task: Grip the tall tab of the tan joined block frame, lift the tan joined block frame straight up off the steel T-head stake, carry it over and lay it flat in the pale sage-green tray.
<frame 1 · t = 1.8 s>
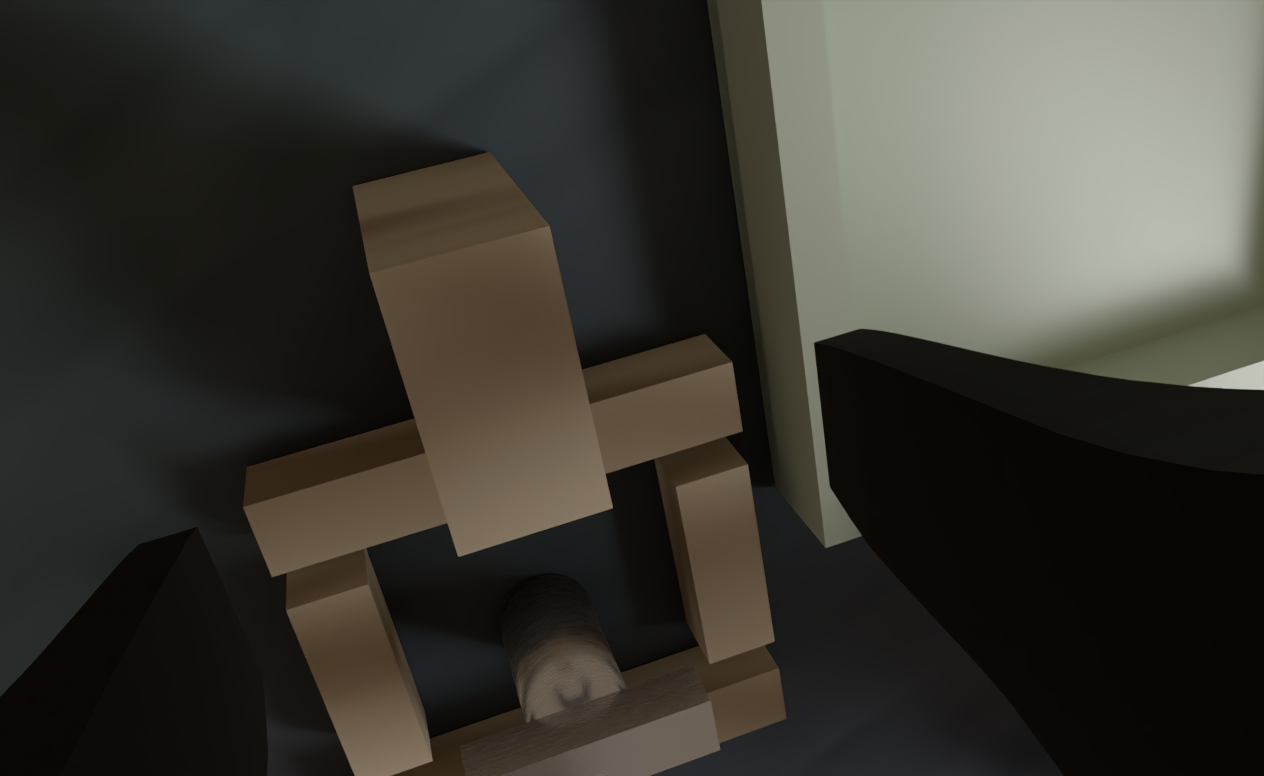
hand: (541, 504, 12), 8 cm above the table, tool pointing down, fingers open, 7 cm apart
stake: (544, 614, 22), on the table
tan joined block frame: (536, 584, 22), on the table
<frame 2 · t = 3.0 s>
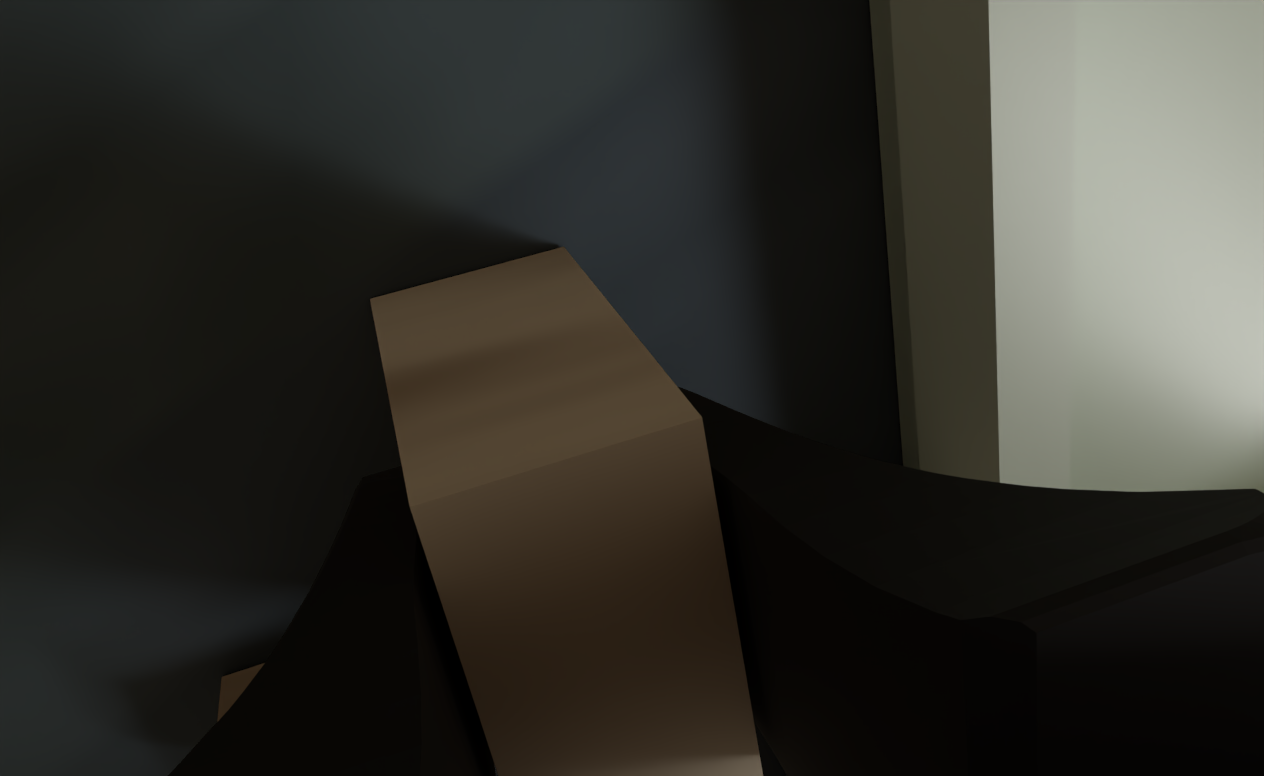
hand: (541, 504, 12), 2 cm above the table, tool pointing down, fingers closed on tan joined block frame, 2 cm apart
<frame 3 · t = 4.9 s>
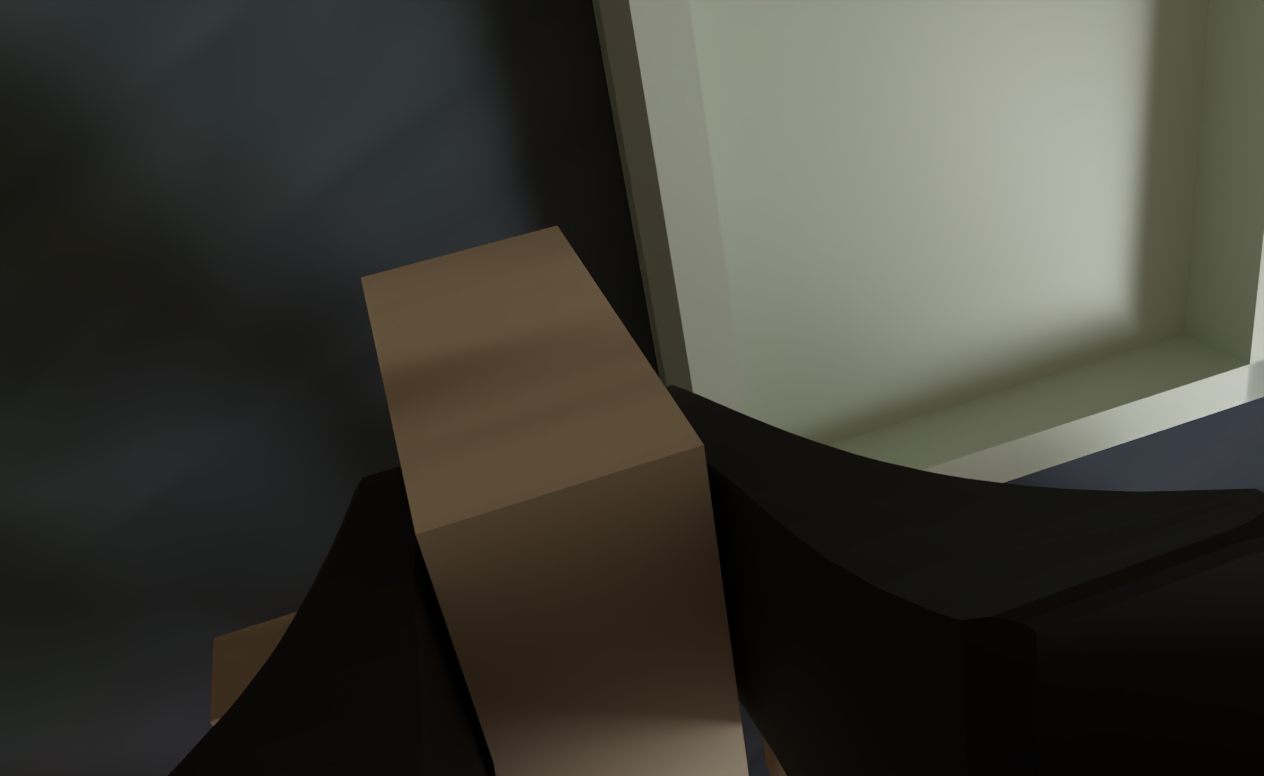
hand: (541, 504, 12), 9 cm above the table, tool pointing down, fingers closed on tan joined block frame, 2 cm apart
tray: (940, 23, 21), on the table
tan joined block frame: (588, 740, 17), point 7 cm above the table, tilted 6°, touching gripper
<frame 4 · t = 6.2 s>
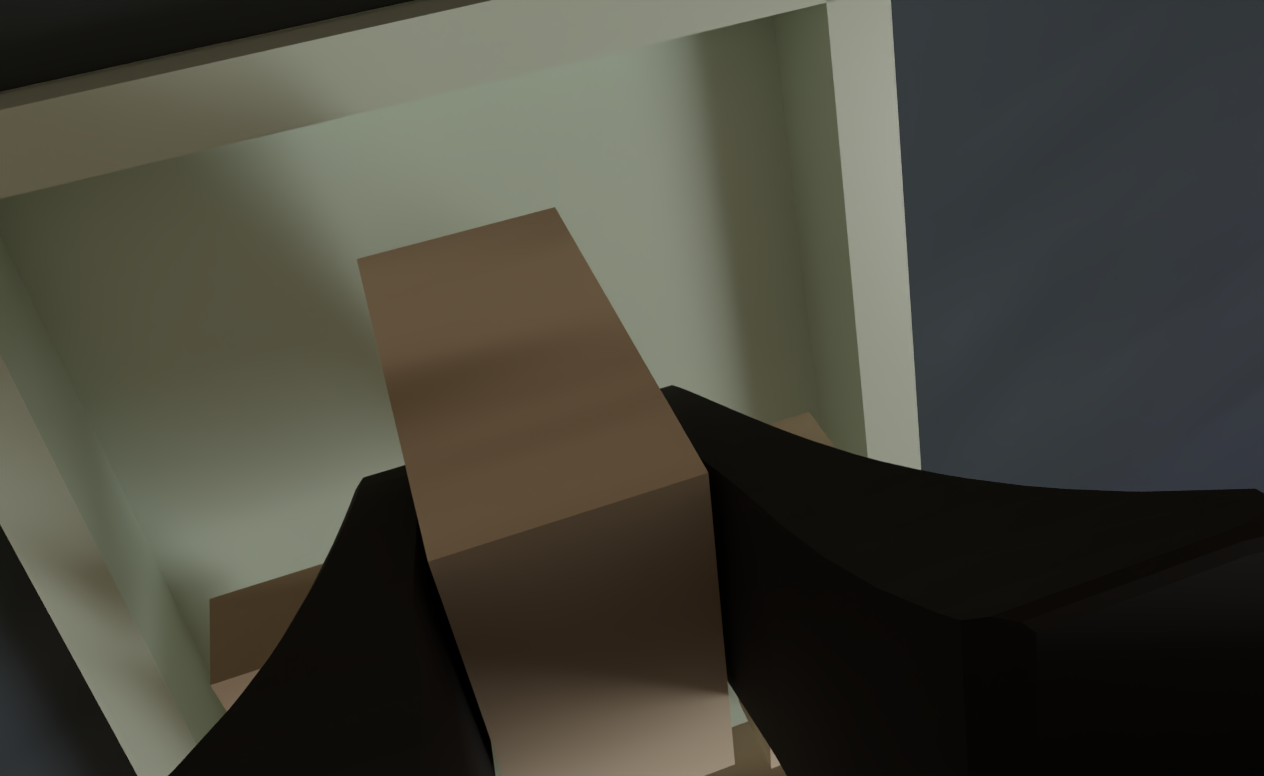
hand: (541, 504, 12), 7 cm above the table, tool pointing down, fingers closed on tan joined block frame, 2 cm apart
tray: (521, 529, 20), on the table
tan joined block frame: (570, 684, 18), point 3 cm above the table, tilted 13°, touching gripper
when the fingers open (4 cm above the table, at t = 6.9 s): tan joined block frame stays where it is, resting on tray.
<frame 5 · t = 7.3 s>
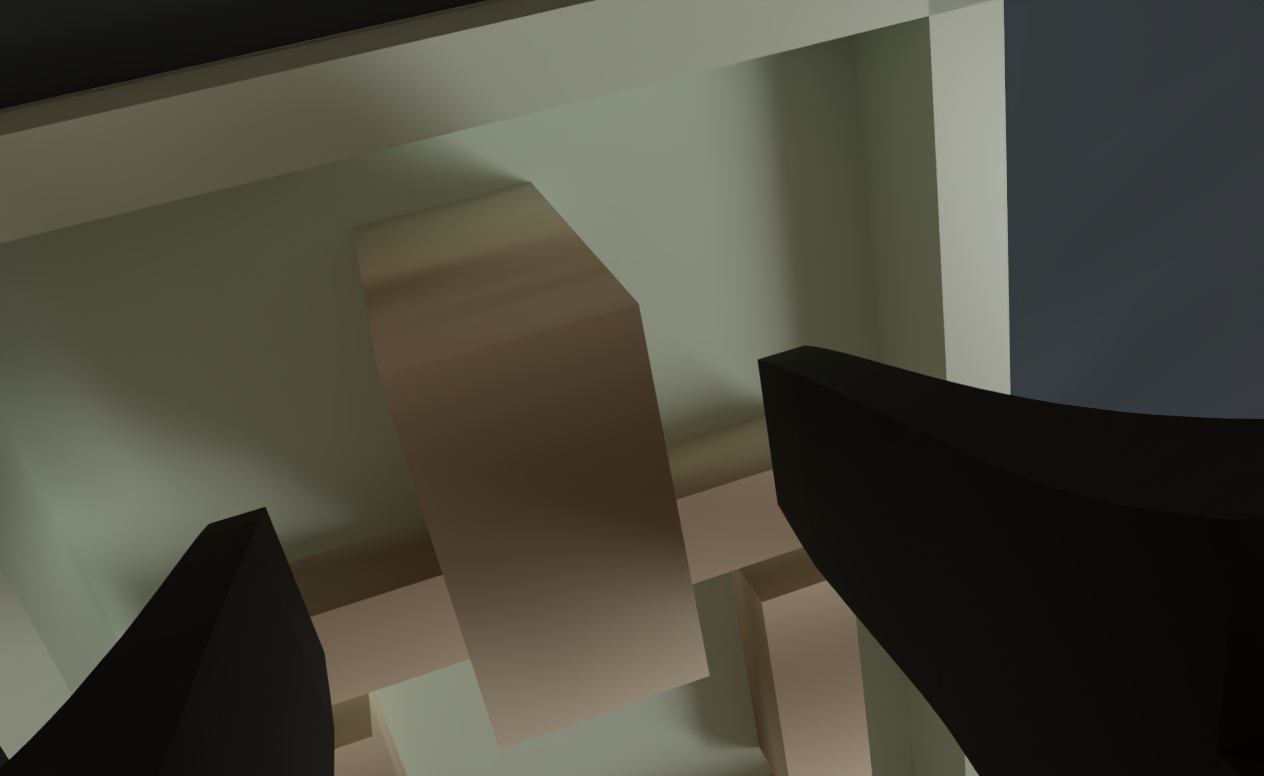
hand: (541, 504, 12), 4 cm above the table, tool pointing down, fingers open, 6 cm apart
tray: (551, 612, 17), on the table
tan joined block frame: (580, 712, 18), resting on tray
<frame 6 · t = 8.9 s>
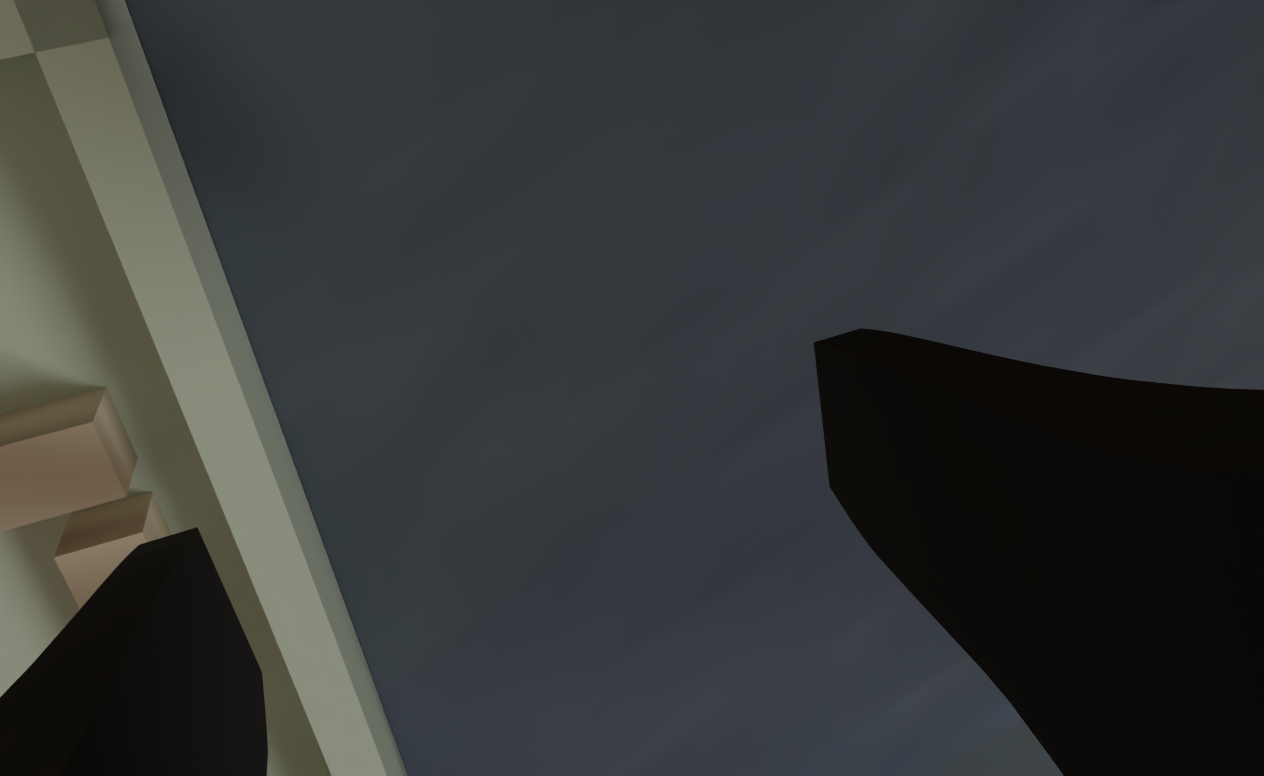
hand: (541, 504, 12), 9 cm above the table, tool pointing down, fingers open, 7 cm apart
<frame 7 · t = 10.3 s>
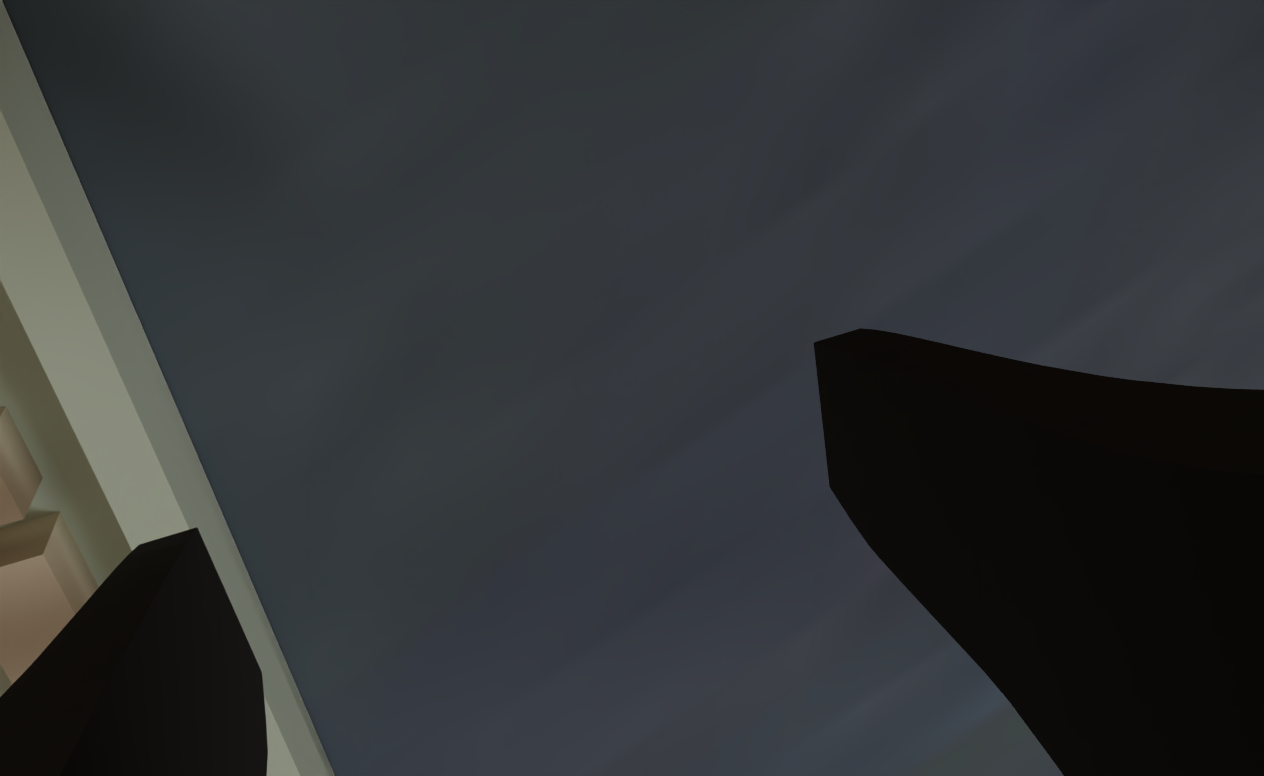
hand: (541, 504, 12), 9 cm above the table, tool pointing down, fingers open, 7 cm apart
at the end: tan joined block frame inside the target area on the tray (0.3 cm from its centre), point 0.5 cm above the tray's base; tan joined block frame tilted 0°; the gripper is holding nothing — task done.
